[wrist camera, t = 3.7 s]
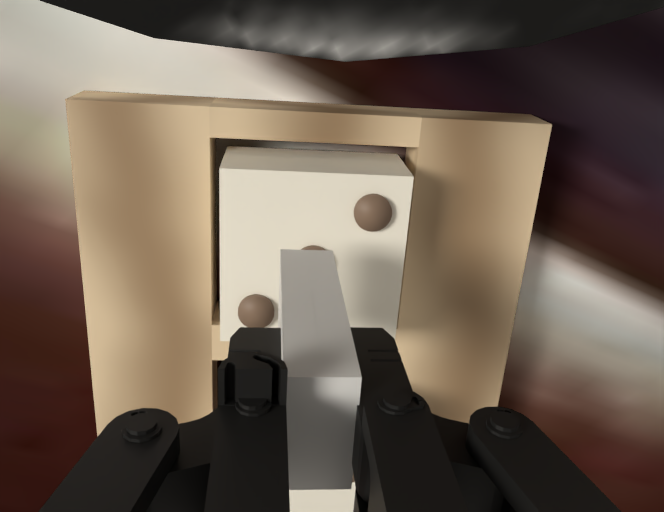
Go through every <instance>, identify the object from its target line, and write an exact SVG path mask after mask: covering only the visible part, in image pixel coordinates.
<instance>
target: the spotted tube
mask: <svg viewBox="0 0 664 512" xmlns="http://www.w3.org/2000/svg"><path fill="white" fill-rule="evenodd" d="M40 1H43V2H46V3H49V4H52V5H55V6H58V7H61V8H64V9H67V10H70V11H73V12H76V13H80V14H83V15H86V16H89V17H92V18H95V19H98V20H101V21H104V22H107V23H110V24H113V25H116V26H119V27H122V28H125V29H128V30H131V31H134V32H137V33H140V34H143V35H146V36H149V37H153V38H158V39H166V40H175V41H183V42H191V43H199V44H207V45H215V46H223V47H231V48H240V49H248V50H256V51H264V52H272V53H280V54H288V55H296V56H304V57H313V58H321V59H329V60H337V61H345V62H346V61H358V60H371V59H383V58H395V57H407V56H419V55H431V54H443V53H455V52H467V51H479V50H491V49H503V48H515V47H527V46H532V45H536V44H539V43H543V42H546V41H550V40H553V39H556V38H560V37H563V36H567V35H570V34H573V33H577V32H580V31H584V30H587V29H591V28H594V27H597V26H601V25H604V24H608V23H611V22H614V21H618V20H621V19H625V18H628V17H632V16H635V15H638V14H642V13H645V12H649V11H652V10H655V9H659V8H662V7H664V0H40Z"/></svg>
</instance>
